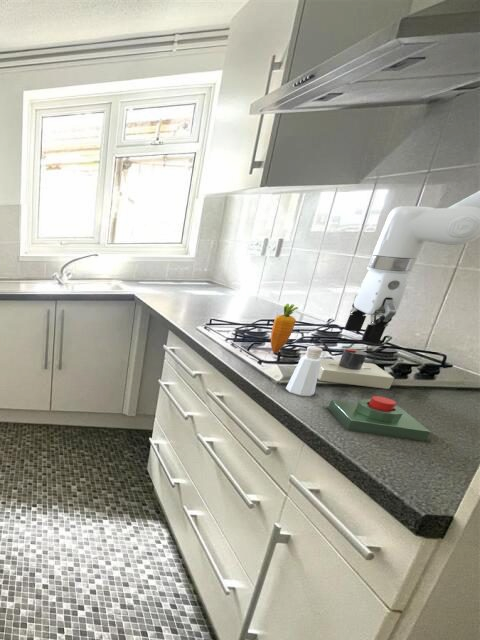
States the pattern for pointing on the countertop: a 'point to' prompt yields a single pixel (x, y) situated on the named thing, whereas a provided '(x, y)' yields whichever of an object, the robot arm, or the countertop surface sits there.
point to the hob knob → (352, 359)
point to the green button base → (377, 420)
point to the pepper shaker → (306, 373)
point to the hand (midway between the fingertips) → (360, 335)
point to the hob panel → (354, 374)
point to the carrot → (282, 328)
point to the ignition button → (382, 403)
